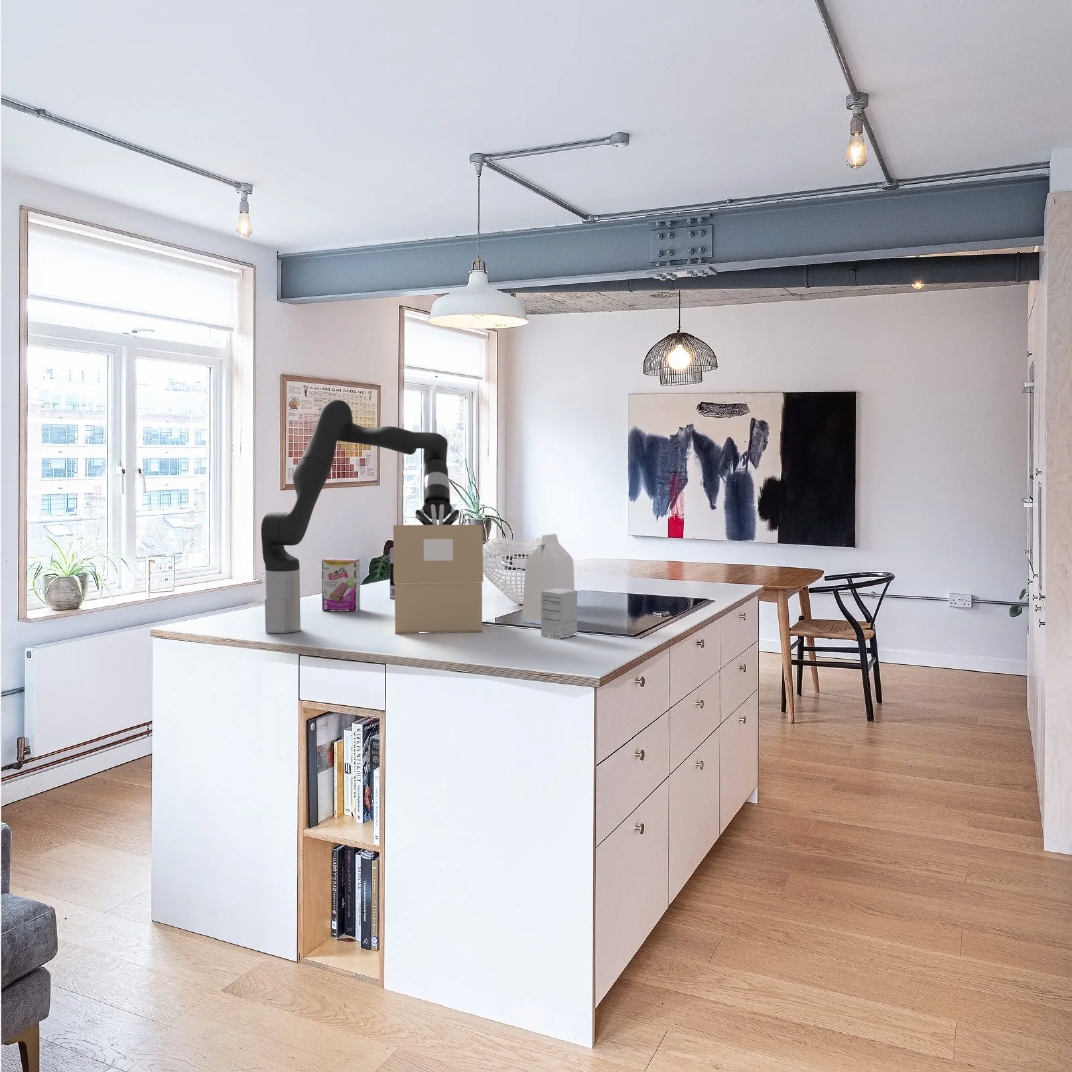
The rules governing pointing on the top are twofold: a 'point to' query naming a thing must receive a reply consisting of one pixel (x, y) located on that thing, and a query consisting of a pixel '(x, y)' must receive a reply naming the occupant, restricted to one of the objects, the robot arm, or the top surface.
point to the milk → (546, 574)
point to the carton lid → (438, 553)
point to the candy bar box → (340, 584)
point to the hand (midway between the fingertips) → (438, 537)
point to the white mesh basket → (485, 571)
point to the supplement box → (558, 612)
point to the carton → (438, 607)
